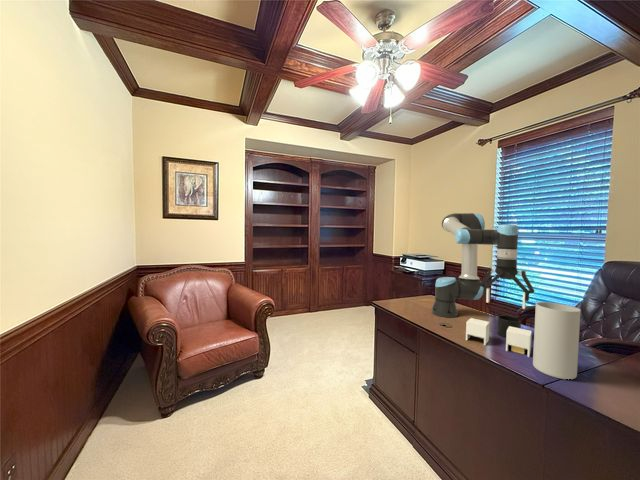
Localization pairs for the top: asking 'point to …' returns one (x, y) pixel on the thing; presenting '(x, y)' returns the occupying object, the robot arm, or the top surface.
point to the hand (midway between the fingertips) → (505, 305)
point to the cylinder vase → (556, 339)
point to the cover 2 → (518, 338)
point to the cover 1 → (477, 329)
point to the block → (518, 349)
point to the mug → (507, 324)
